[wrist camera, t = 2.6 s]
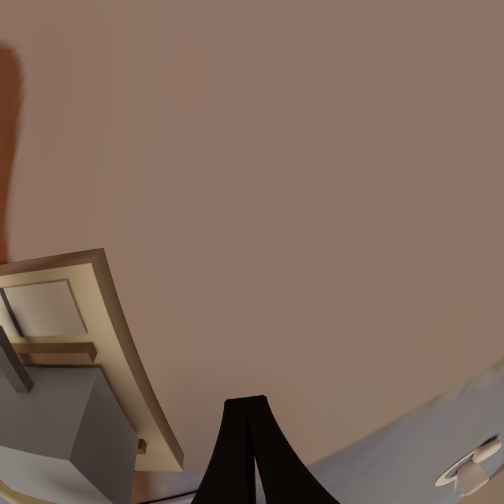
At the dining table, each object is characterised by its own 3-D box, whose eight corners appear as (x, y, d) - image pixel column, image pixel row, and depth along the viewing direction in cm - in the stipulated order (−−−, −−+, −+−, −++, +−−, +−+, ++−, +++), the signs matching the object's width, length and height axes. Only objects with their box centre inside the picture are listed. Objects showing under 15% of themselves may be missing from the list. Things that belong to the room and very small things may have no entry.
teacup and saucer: (493, 428, 21) (510, 455, 17) (499, 441, 23) (513, 463, 20) (425, 480, 22) (438, 508, 19) (442, 484, 25) (454, 507, 21)
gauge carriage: (72, 306, 9) (18, 397, 5) (139, 438, 11) (128, 516, 8) (-69, 314, 8) (-115, 365, 4) (-3, 421, 11) (-26, 474, 7)
